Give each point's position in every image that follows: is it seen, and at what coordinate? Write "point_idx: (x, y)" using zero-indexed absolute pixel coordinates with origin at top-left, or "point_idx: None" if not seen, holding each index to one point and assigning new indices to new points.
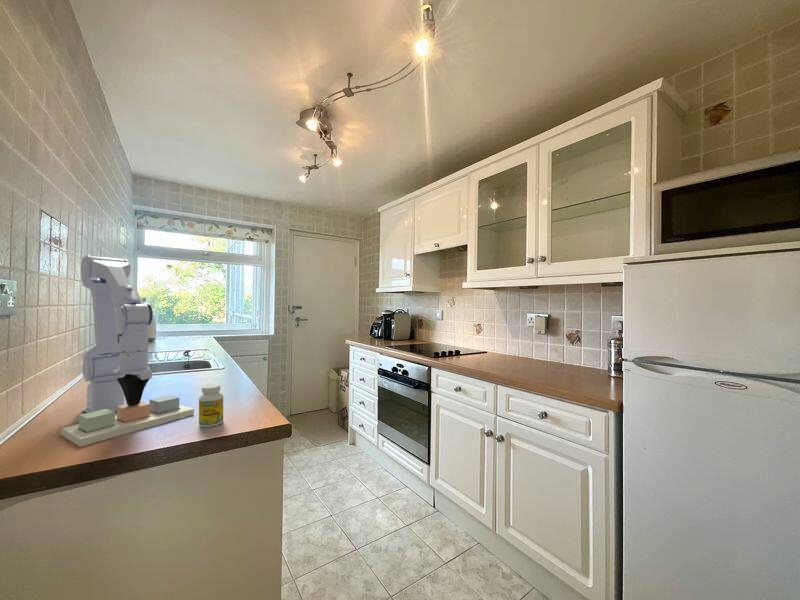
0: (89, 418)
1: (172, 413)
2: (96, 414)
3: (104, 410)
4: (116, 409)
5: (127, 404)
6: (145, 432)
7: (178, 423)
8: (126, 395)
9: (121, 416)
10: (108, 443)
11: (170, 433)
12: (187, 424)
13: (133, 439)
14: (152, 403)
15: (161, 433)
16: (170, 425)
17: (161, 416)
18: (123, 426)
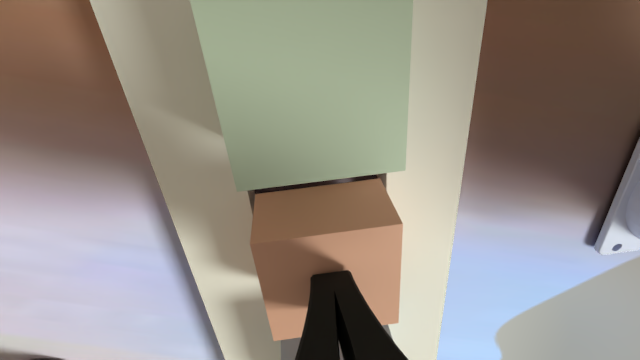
0: (198, 20)
1: (235, 343)
2: (281, 88)
3: (362, 152)
4: (624, 208)
5: (343, 274)
6: (122, 221)
7: (160, 321)
8: (332, 333)
9: (312, 200)
10: (45, 65)
11: (22, 280)
12: (116, 337)
13: (34, 165)
14: None
15: (50, 259)
16: (155, 300)
17: (224, 311)
18: (180, 172)
